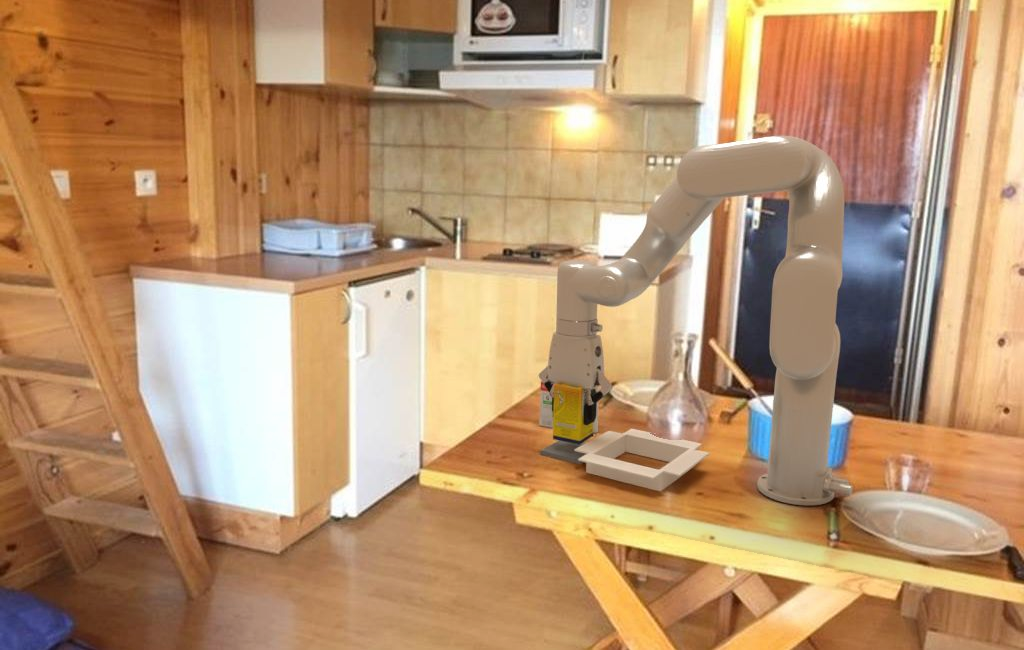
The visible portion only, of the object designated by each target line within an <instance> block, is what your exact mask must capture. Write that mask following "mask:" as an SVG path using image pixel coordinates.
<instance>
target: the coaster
mask: <svg viewBox="0 0 1024 650" xmlns="http://www.w3.org/2000/svg"><path fill="white" fill-rule="evenodd" d="M585 443H587V442H586V441H584V442H583V443H581V444H580V445H579V444H574V443H569V442H564V441H559V440H556V441H555V442H553V443H552V444H550V445H548V446H546V447H544V448H542V449H540V451H539V455H541V456H545V457H549V458H553V459H557V460H561V461H565V462H570V463H573V464H577V465H583V464H584V463H585V464H586V462H582V461H578V459H579V458H581V457H582V456H584V455H586V454H585V453H581V452H577V451H574V450H575V449H576V448H578V447H580V446H582V445H583V444H585Z"/></svg>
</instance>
